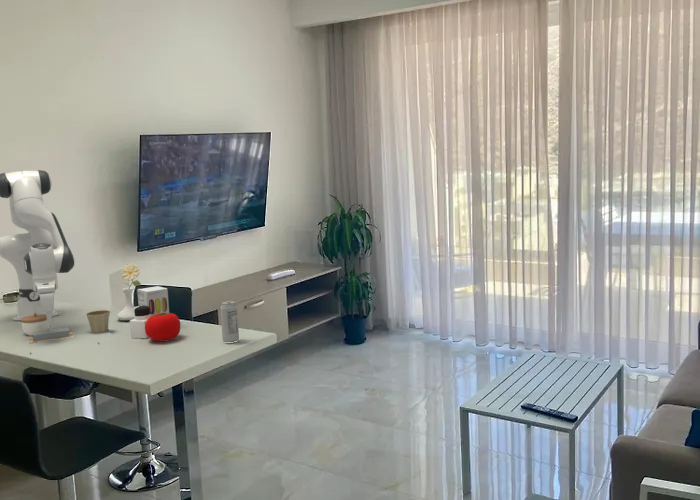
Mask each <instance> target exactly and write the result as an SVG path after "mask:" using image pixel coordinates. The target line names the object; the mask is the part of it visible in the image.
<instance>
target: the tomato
mask: <svg viewBox="0 0 700 500" xmlns="http://www.w3.org/2000/svg"><path fill="white" fill-rule="evenodd" d="M145 332H146V335H147V336H148V337H149V338H148V339H151V340H153V341H155V342H167V340H168V341H171V340H174V339H176V338H177V337H178V336H179V334H180V332H181V321H180V318H179V317H178V316H177V314H176V313H172V312H169V313H159V314H155V315H152V316H151V317H149V318H148V320H147V321H146V324H145Z"/></svg>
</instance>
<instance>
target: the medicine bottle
mask: <svg viewBox="0 0 700 500" xmlns="http://www.w3.org/2000/svg"><path fill="white" fill-rule="evenodd" d="M134 317H135V319H132V320H129V326H130V327H129V328H130V335H131V336H130V337H131V339H141V338H147V339H149V338H148V336H147V335H146V332H145V324H146V321H147V320H148V318H149V317H150V307H149V306H139V305H138V306H135V308H134Z"/></svg>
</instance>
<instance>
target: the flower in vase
mask: <svg viewBox="0 0 700 500" xmlns="http://www.w3.org/2000/svg"><path fill="white" fill-rule="evenodd" d="M140 272H141V270H140V267H139V265H137V264H135V263H132V262H131V263H129V264H127V265H124V266H123V268H122V269H121V271H120V275H121V277H122V279H123V280H125V281H128V282H130V281H131V283H130V284H129V283H127V282H124V281H122V283H123V284H126V285H128V286H129V287H124V288H122V289H121V290H122V291H123V293H124V295H125V300H126V301H125V302H126V303H125V304H126V305H125V306H124V307H123V308H122V309H121V310H120V311H119V312H118V314H117V315H116V319H118V320H120V321H130V320H132V319H135V317H134V308H135V307H136V306H135V305H134V304H133V301H132V300H133V299H132V295H133V291H134V289H135V288H134V287H138V286H141V285H142V283H141V282H140V281H139V280H138V279H137V278H138V277H139V275H140ZM135 279H137V280H135ZM132 285H133V286H134V287H132Z"/></svg>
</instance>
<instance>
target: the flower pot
mask: <svg viewBox="0 0 700 500" xmlns="http://www.w3.org/2000/svg"><path fill="white" fill-rule="evenodd" d="M110 313H111V311H110V310H109V309H99V310H93V311H87V312H86V313H85V316H86V317H87V318H86V319H87V320H88V324H89V328H90V331H91V332H90V333H92V334H99V333H106V332H108V331H109V318H110Z"/></svg>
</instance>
